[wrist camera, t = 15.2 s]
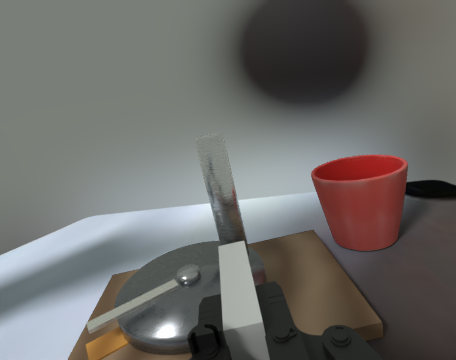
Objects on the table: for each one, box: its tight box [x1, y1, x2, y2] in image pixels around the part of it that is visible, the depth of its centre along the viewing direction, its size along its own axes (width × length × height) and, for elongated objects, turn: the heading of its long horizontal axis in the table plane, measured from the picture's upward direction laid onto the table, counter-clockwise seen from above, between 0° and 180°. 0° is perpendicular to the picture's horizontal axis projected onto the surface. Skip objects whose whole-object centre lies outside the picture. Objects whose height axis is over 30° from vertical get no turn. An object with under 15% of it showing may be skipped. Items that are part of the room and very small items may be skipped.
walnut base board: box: [68, 230, 384, 360], centre depth 35 cm, size 28×18×2 cm, turn 93°
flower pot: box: [311, 155, 408, 251], centre depth 40 cm, size 11×11×10 cm
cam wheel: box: [87, 133, 267, 355], centre depth 32 cm, size 18×16×16 cm
